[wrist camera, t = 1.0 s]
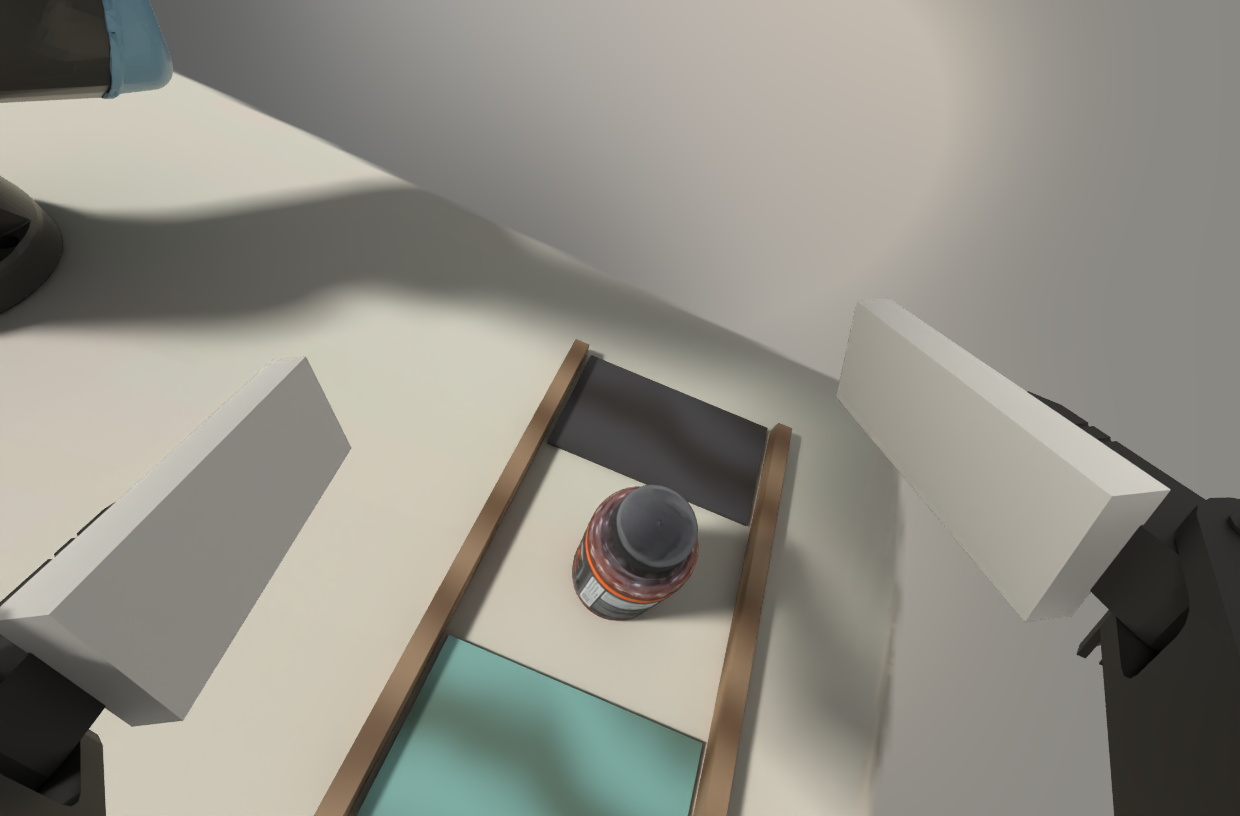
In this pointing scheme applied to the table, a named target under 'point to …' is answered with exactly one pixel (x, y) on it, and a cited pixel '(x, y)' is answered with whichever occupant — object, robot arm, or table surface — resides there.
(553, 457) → the table surface
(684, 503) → the supplement bottle
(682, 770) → the channel track
